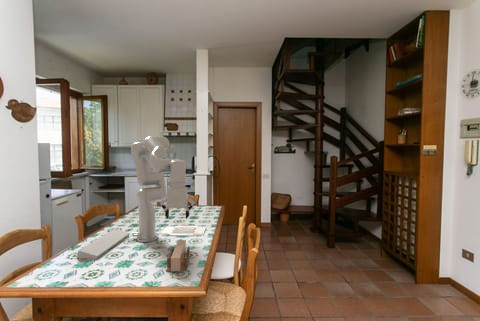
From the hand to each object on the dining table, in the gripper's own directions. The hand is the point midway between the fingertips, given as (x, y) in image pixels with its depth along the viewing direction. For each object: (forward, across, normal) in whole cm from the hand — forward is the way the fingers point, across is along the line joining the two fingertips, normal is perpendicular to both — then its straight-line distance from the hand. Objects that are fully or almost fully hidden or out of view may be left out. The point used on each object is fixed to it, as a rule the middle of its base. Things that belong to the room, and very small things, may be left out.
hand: (177, 217), depth 127 cm
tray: (+23, -2, +42) cm, 48 cm away
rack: (+21, +2, -6) cm, 21 cm away
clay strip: (+20, +2, -5) cm, 20 cm away
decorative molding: (+23, -42, +18) cm, 52 cm away
